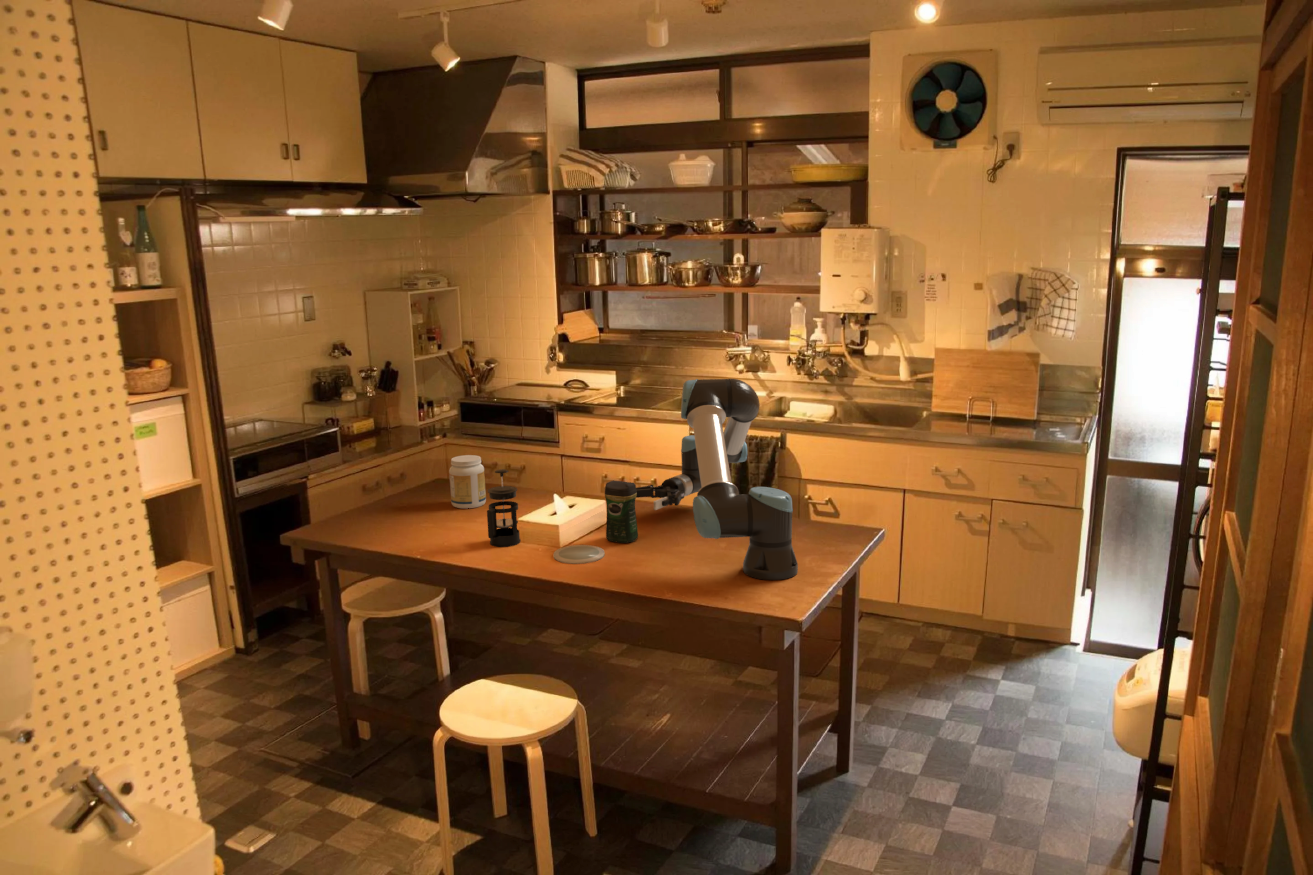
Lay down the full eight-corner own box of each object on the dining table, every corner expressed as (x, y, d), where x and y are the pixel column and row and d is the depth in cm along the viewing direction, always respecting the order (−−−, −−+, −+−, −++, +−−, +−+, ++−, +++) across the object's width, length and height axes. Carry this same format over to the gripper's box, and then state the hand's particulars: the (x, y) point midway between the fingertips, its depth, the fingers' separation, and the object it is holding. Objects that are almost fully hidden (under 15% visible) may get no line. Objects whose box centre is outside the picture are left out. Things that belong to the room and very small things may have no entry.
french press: (505, 535, 301) (502, 464, 297) (528, 540, 296) (524, 468, 291) (479, 545, 292) (475, 472, 287) (502, 550, 287) (498, 476, 282)
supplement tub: (475, 498, 346) (473, 452, 342) (492, 504, 336) (490, 458, 333) (445, 504, 338) (442, 458, 335) (461, 511, 329) (458, 463, 325)
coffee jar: (642, 538, 296) (640, 480, 292) (628, 545, 289) (627, 486, 285) (615, 534, 301) (613, 477, 297) (601, 541, 294) (600, 482, 290)
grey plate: (610, 560, 276) (610, 557, 276) (559, 566, 272) (559, 563, 271) (597, 545, 290) (597, 542, 290) (548, 550, 286) (548, 547, 285)
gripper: (707, 504, 310) (669, 520, 293) (646, 493, 324) (607, 507, 308) (707, 482, 308) (669, 496, 292) (646, 472, 323) (606, 485, 306)
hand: (637, 502), depth 300 cm, fingers open, 13 cm apart
